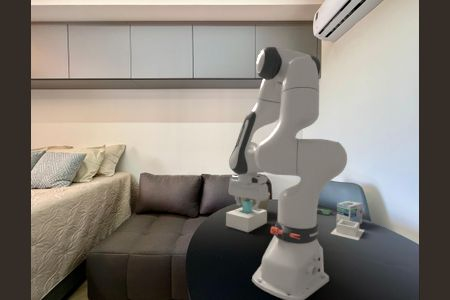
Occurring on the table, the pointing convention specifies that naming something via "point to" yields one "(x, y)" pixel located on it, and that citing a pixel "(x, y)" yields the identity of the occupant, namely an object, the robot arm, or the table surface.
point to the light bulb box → (349, 211)
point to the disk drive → (324, 211)
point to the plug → (247, 206)
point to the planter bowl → (261, 205)
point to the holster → (348, 229)
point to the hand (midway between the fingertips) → (247, 207)
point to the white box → (246, 219)
